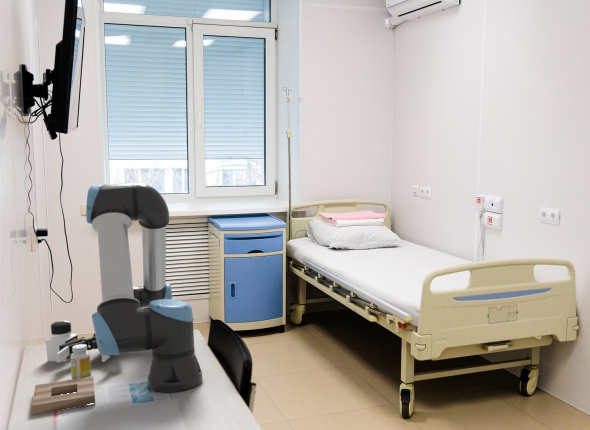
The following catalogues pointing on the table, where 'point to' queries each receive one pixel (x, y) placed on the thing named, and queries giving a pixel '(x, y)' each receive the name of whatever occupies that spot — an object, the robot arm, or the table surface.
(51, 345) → the medicine bottle
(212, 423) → the table surface
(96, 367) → the table surface
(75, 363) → the supplement bottle
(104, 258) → the robot arm
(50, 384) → the socket block
